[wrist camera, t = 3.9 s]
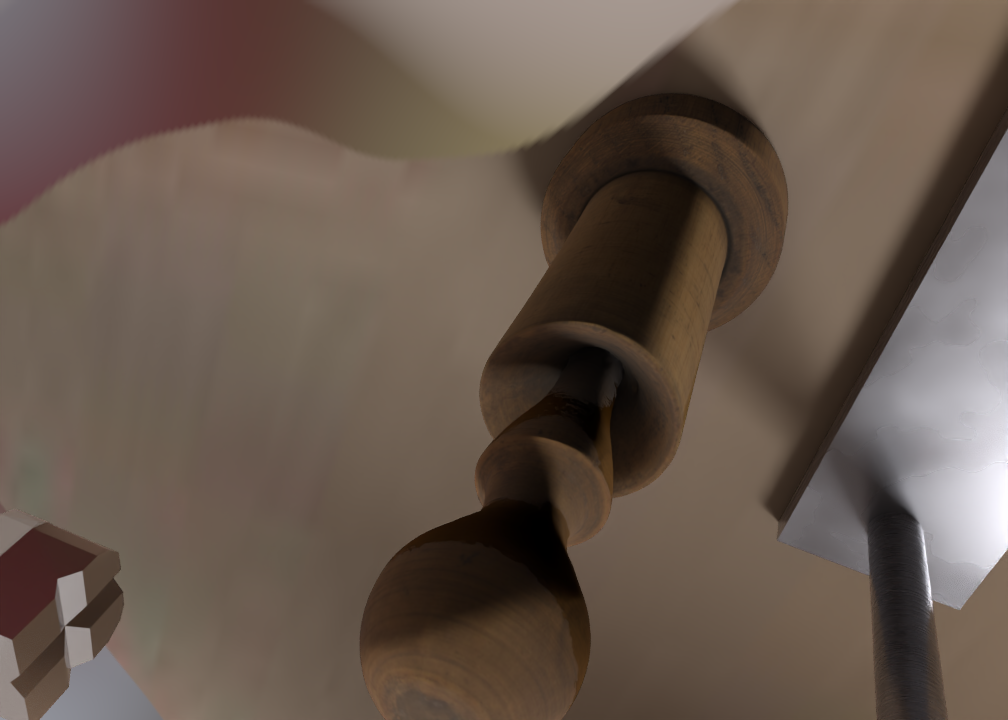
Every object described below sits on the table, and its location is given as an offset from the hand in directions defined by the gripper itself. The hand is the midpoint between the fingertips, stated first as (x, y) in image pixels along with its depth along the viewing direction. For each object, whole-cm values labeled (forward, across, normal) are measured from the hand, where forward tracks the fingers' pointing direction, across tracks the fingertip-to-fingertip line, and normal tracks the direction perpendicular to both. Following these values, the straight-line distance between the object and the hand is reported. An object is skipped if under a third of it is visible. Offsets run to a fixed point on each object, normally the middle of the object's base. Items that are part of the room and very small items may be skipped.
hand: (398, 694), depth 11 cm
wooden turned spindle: (+18, -1, 0) cm, 18 cm away
